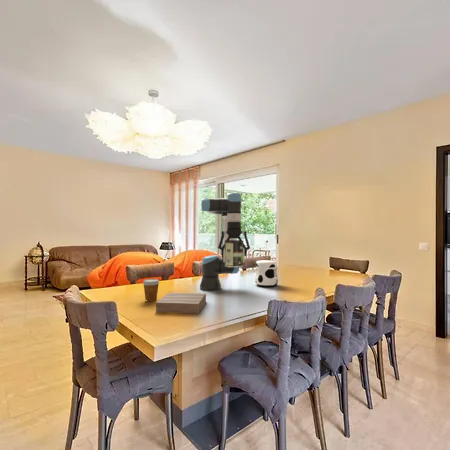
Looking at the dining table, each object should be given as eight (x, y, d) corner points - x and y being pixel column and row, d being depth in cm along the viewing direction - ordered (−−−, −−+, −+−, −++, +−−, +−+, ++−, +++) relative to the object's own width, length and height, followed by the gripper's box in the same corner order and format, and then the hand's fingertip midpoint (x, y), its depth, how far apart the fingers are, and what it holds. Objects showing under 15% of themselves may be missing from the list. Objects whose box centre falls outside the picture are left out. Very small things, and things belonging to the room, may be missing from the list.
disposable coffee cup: (162, 299, 169) (162, 279, 169) (153, 303, 160) (153, 282, 160) (148, 297, 172) (148, 278, 172) (139, 301, 163) (139, 281, 163)
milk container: (252, 283, 217) (252, 260, 217) (274, 283, 219) (274, 260, 219) (257, 288, 200) (257, 263, 200) (281, 287, 201) (281, 262, 202)
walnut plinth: (169, 301, 165) (169, 292, 165) (205, 302, 162) (205, 293, 162) (156, 312, 143) (156, 302, 143) (198, 313, 140) (198, 303, 140)
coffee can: (244, 265, 157) (244, 240, 157) (242, 267, 147) (242, 241, 147) (226, 264, 159) (226, 239, 159) (222, 267, 149) (222, 240, 149)
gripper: (212, 221, 150) (212, 262, 150) (254, 221, 148) (254, 263, 148) (214, 221, 158) (214, 260, 158) (254, 221, 156) (254, 261, 155)
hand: (234, 262), depth 153 cm, fingers closed on coffee can, 10 cm apart
